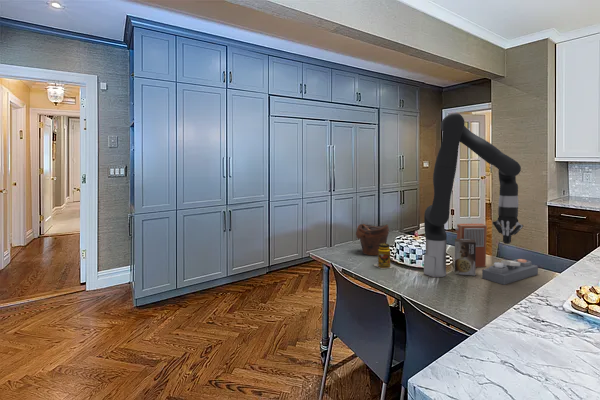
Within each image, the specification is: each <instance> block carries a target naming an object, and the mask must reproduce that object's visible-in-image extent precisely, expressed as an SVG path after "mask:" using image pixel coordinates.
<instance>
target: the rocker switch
mask: <svg viewBox="0 0 600 400" xmlns="http://www.w3.org/2000/svg"><path fill="white" fill-rule="evenodd" d="M500 263H503V264H505V265H509V266H520V263H519V262H515V261H513V260H501V262H500Z"/></svg>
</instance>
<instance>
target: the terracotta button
mask: <svg viewBox="0 0 600 400" xmlns="http://www.w3.org/2000/svg"><path fill="white" fill-rule="evenodd" d="M527 261H528V260H527V259H524V258H518V262H523V263H526V262H527Z"/></svg>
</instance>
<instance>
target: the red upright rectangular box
mask: <svg viewBox="0 0 600 400" xmlns="http://www.w3.org/2000/svg"><path fill="white" fill-rule="evenodd" d="M456 225H457V226H456V227H455V228H454V229H455V230H456V239H473V240H475V241H476V268H486V264H487V236H488V235H487V232H488V231H487V230H488V228H487V224H485V223H457V224H456ZM454 261H455V258H454Z"/></svg>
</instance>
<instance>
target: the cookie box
mask: <svg viewBox="0 0 600 400" xmlns="http://www.w3.org/2000/svg"><path fill="white" fill-rule="evenodd" d="M454 259H455V260H454V275H462V276H463V275H464V276H476V268H477V267H476V241H475V240H473V239H457V238H454Z"/></svg>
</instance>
